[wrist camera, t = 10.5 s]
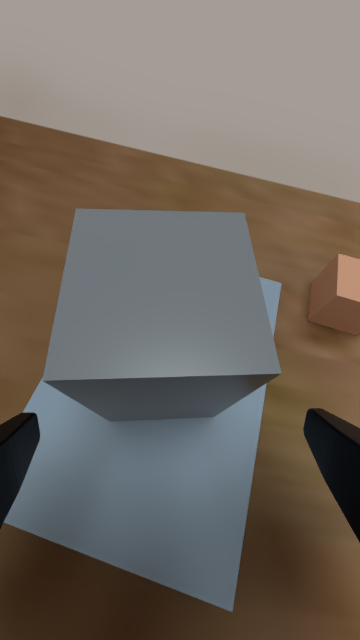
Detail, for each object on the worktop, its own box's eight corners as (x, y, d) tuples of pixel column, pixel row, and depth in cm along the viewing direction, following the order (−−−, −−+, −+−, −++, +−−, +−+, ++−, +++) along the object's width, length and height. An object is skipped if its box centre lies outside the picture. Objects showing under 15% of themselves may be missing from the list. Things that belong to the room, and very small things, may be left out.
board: (226, 599, 13) (232, 612, 12) (-18, 504, 14) (-33, 508, 13) (275, 291, 22) (281, 283, 21) (124, 247, 23) (122, 237, 22)
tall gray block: (214, 417, 16) (281, 373, 7) (109, 421, 15) (42, 380, 7) (204, 325, 19) (244, 212, 10) (116, 326, 18) (76, 208, 10)
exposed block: (355, 336, 21) (395, 312, 17) (307, 321, 21) (336, 295, 18) (355, 297, 23) (391, 268, 19) (310, 283, 23) (338, 253, 20)
